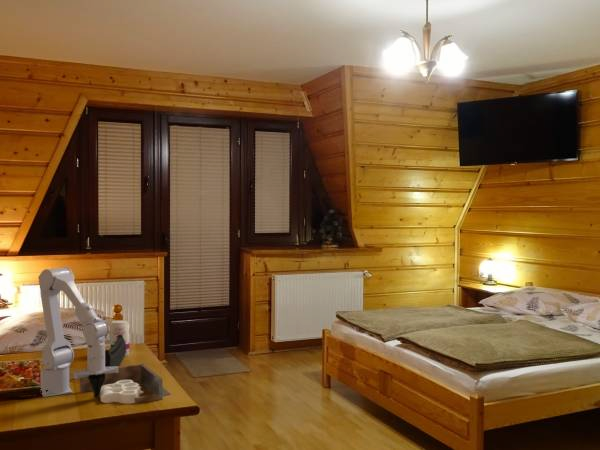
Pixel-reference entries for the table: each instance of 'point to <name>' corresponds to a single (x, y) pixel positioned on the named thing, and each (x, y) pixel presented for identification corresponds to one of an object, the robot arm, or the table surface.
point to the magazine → (115, 353)
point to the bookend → (152, 382)
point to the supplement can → (120, 333)
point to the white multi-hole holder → (120, 392)
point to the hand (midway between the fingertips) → (96, 396)
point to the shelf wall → (124, 374)
